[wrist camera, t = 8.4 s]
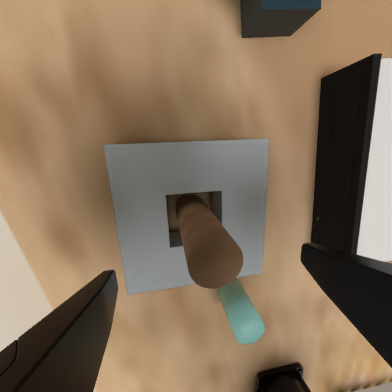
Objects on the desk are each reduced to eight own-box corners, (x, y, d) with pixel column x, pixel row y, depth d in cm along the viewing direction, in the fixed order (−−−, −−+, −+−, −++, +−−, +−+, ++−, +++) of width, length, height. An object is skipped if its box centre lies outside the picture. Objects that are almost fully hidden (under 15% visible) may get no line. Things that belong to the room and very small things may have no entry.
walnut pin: (204, 193, 17) (244, 234, 9) (205, 220, 18) (242, 283, 10) (174, 195, 17) (186, 241, 8) (176, 223, 18) (189, 292, 9)
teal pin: (242, 277, 21) (265, 315, 16) (241, 297, 21) (264, 340, 16) (217, 280, 20) (234, 321, 15) (218, 302, 21) (234, 347, 16)
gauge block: (251, 140, 17) (269, 138, 14) (247, 255, 20) (261, 273, 17) (114, 145, 15) (103, 144, 12) (133, 272, 18) (127, 294, 15)
